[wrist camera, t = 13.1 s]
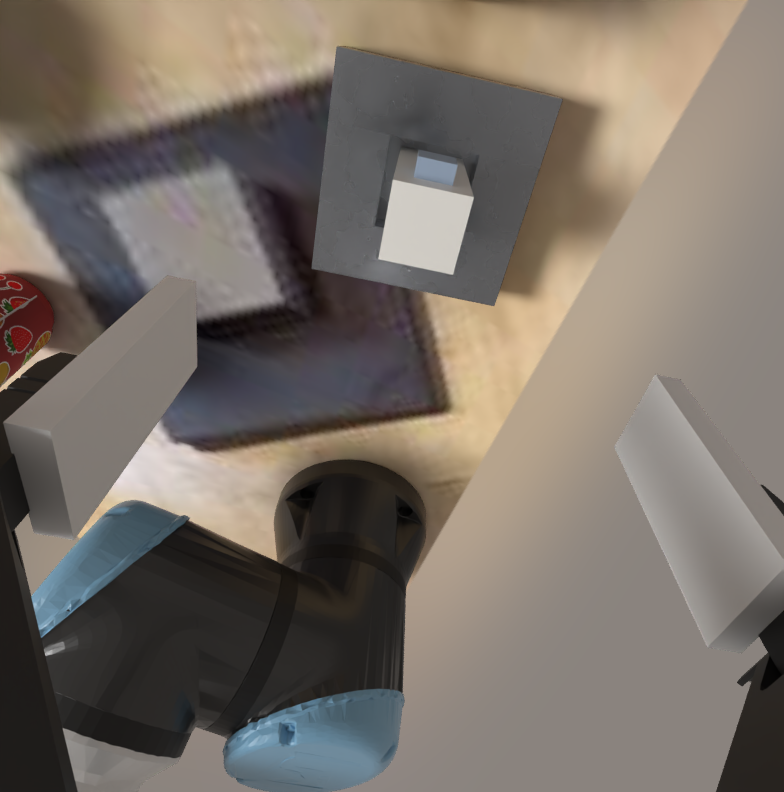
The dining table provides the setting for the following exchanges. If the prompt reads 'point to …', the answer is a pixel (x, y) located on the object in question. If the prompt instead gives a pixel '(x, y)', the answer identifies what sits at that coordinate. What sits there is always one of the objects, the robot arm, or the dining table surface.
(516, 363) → the dining table surface
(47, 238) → the dining table surface
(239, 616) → the robot arm
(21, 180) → the dining table surface
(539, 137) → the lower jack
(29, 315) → the smoothie
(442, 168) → the plug
